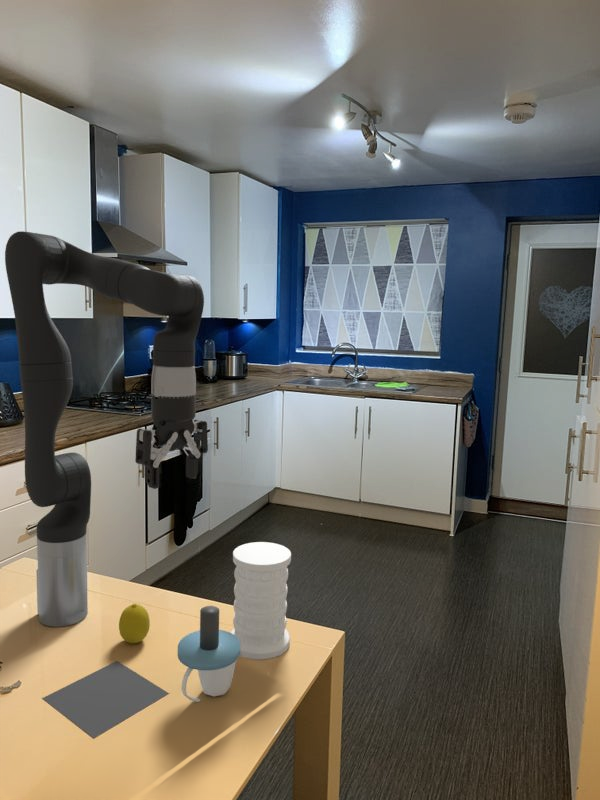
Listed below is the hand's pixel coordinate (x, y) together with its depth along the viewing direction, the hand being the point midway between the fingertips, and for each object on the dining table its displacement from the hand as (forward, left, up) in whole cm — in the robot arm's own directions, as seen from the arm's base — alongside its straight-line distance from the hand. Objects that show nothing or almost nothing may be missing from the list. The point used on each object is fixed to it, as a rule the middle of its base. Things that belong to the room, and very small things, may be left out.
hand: (172, 482), depth 109 cm
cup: (+15, -5, -32) cm, 36 cm away
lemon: (-7, -3, -32) cm, 33 cm away
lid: (+15, -5, -24) cm, 29 cm away
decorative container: (+10, +13, -32) cm, 36 cm away
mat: (+3, -16, -32) cm, 36 cm away
